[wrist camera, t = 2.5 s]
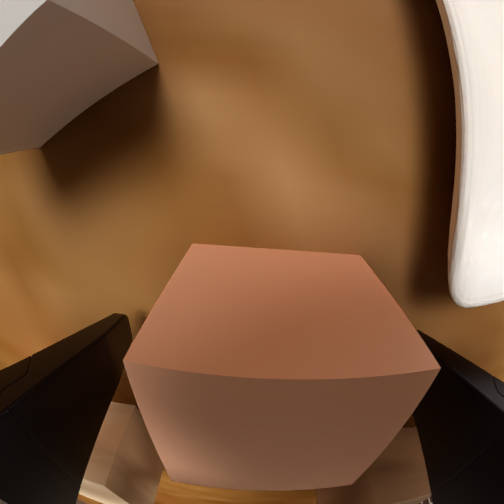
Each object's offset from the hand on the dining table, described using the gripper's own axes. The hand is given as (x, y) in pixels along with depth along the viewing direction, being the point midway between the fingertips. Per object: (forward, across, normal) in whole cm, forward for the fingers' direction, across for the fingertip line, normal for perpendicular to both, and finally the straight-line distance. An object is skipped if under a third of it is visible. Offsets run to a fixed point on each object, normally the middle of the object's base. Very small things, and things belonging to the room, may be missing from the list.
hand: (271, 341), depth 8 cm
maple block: (+1, +8, +9) cm, 12 cm away
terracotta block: (+1, 0, 0) cm, 1 cm away
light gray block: (+1, +7, -9) cm, 11 cm away
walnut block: (+1, -7, +10) cm, 12 cm away
